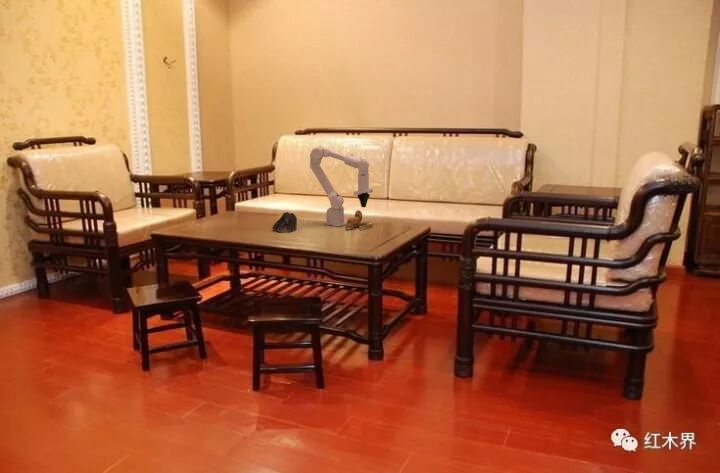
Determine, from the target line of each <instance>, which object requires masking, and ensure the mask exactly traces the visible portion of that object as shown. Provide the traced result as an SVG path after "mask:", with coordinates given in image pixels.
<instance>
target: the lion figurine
mask: <svg viewBox="0 0 720 473" xmlns="http://www.w3.org/2000/svg"><path fill="white" fill-rule="evenodd" d="M362 220H363V212H362V211H361V210H356V211H355V213H354V216H352V217H351V216H350V217H348V218H347V220H346V223H347V224H346V225H345V231H349V229H348V225H349V224H351V228H350V229H351V230H352V231H356V228H357V227H356V223H358V224H359V226H358V229H360V224H361V222H363V221H362ZM353 224H354V227H356V228H354V227H353Z"/></svg>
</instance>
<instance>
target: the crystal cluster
mask: <svg viewBox="0 0 720 473" xmlns="http://www.w3.org/2000/svg"><path fill="white" fill-rule="evenodd" d="M297 219H298V218H297V216H296V215H295V213H293V212H291V213H290V212H288V211H285V212H284V213H282V215H281V217H280V218H279V219H277V221H276V222H275V223H274V224H273V225H272V230H273V231H275V232H279V233H284V232H285V233H292V232H295V231H296V230H297V225H298V224H297V221H298V220H297Z"/></svg>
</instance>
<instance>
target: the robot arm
mask: <svg viewBox="0 0 720 473" xmlns="http://www.w3.org/2000/svg"><path fill="white" fill-rule="evenodd" d="M323 158H333V159H336V160H338V161H339V160H340V161H342V162H343V163H344V164H345V165H346V166H349V167H351V168H353V169H358V172H357V173H358V174H357V190H355V191H353V196H357V198H358V199H359V204H360V207H361V208H366V207H367V203H368V200H369V198H370V196H371V194H370V193H373V192H374V189H373V188H369V187H370V185H369V184H370V181H369V180H370V177H369V175H370V174H369V167H370V163H369V161H368V160H367V159H364V158H363V159H362V157H357V156H355V155H354V154H352V153H351V154H346V155H345V154H343V153H340V152H337V151H335V150H333V149H331V148H329V147H328V148H327V147H323V146H321V145H320V146H319V145H318V146H316V147H313V148H312V149H311V152H310V154H309V166H310V167H309V168H310V169H311V171H312V172H313V174H314V175H315V178H316V179H317V180H318V182H319V184H320V185H321V187H322V189H323V190H324V192H325V194H326V195H327V197H328V198H327V199H328V201H329V202H330V207H328V208H327V210H326V212H325V215H326V216H325V217H326V218H325V219H326V222H325V225H327V226H333V227H341V226H346V224H347V222H345V207H344V206H343V205H344V198H343V196H342V195H340V194H339V192H338V191H336V189H335V188H334V186H333V185H332V183H331V181H330V179H329V178H328V176H327V175H326V173H325V172H324V170H323V168H322V167H321V163H322V160H323Z"/></svg>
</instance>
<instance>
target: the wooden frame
mask: <svg viewBox="0 0 720 473" xmlns="http://www.w3.org/2000/svg"><path fill="white" fill-rule="evenodd" d="M356 226H357V227H359V224H358V223H356ZM371 227H372V228H373V223H370V222H364V221H361V224H360V228H359V231H360V232H361V231H364V229H365V230H368V229H371ZM348 228H350V229H352V228H351V224H350V223H349V225H348ZM353 228H354V224H353Z"/></svg>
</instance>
